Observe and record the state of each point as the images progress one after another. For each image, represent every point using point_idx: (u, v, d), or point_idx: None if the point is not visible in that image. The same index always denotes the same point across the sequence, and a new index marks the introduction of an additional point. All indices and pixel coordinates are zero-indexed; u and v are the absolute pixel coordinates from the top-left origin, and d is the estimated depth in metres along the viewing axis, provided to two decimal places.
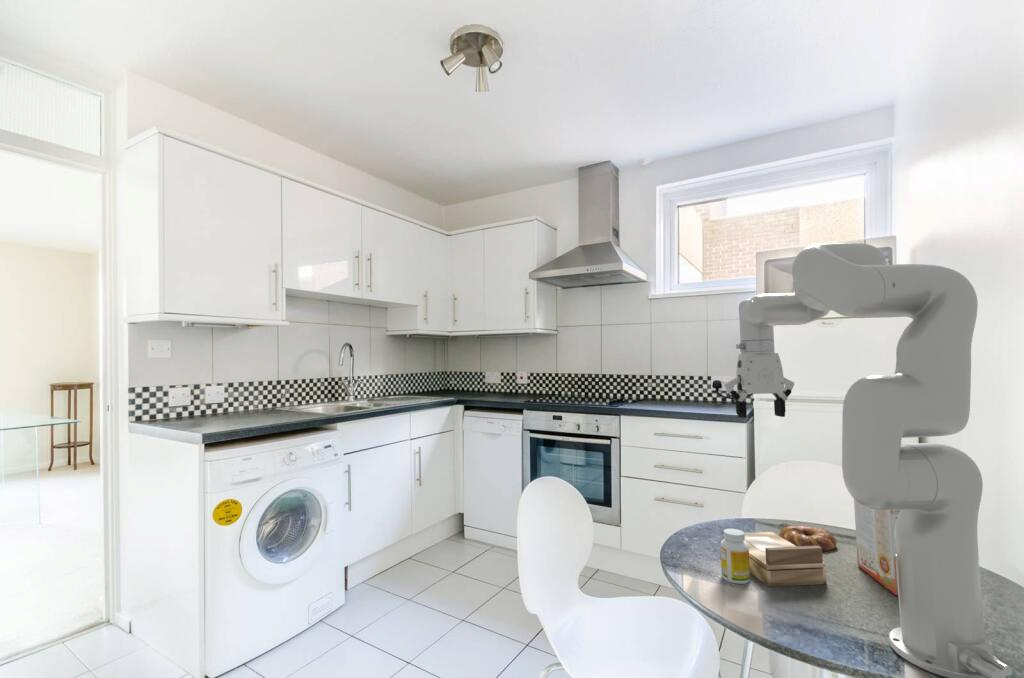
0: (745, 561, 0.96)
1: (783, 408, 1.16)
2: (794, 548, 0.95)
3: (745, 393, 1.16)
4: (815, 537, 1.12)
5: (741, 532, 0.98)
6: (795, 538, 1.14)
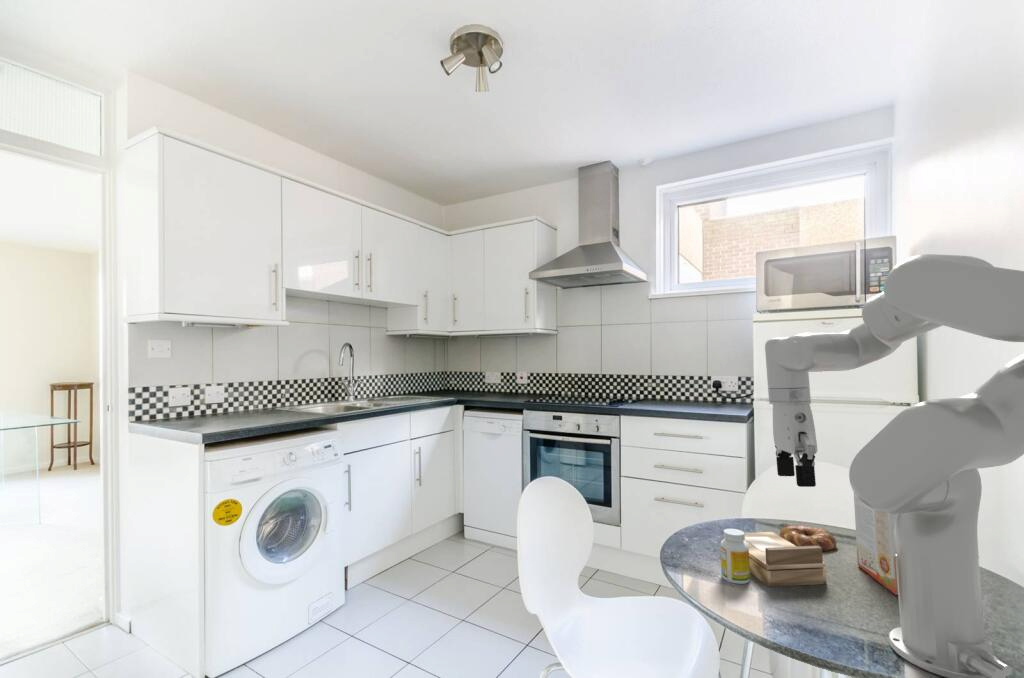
0: (745, 561, 0.96)
1: None
2: (794, 548, 0.95)
3: None
4: (815, 537, 1.12)
5: (741, 532, 0.98)
6: (795, 538, 1.14)
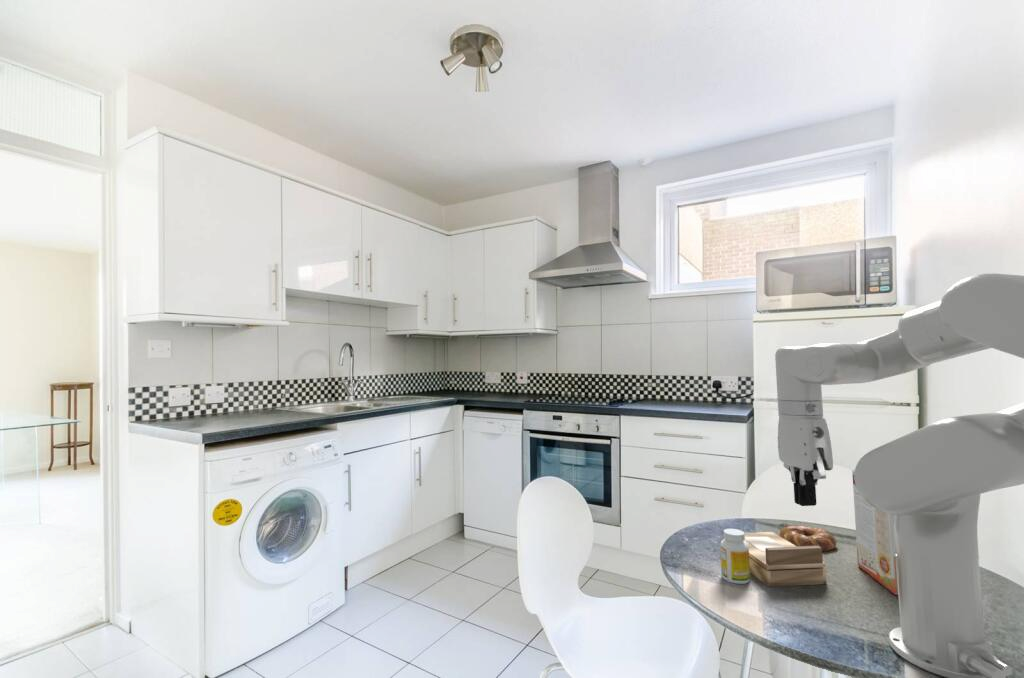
0: (745, 561, 0.96)
1: None
2: (794, 548, 0.95)
3: None
4: (815, 537, 1.12)
5: (741, 532, 0.98)
6: (795, 538, 1.14)
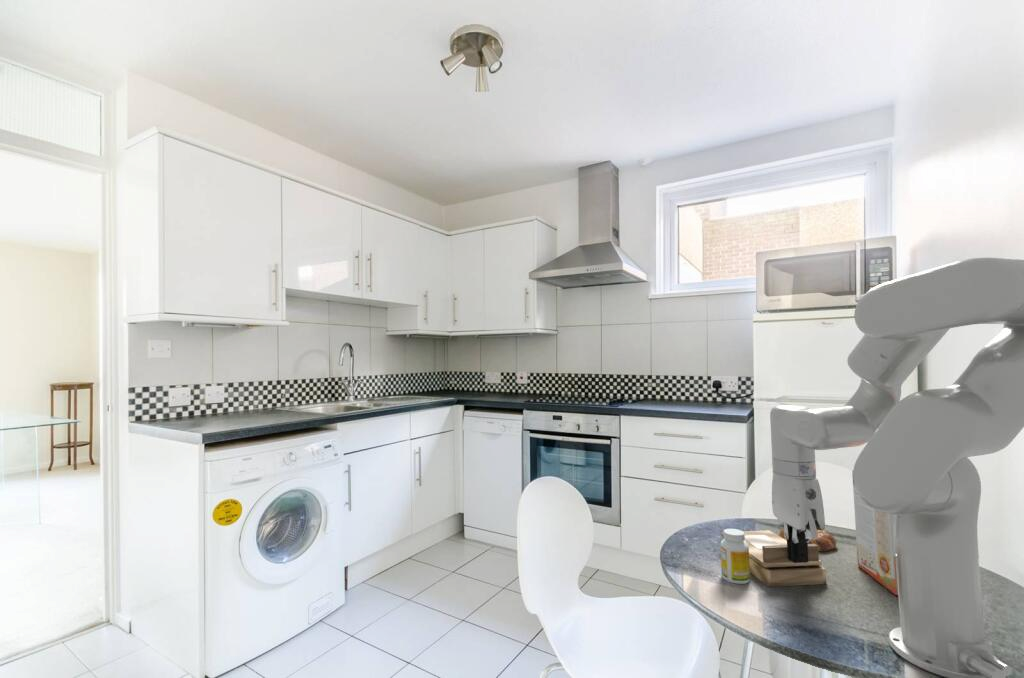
0: (745, 561, 0.96)
1: None
2: None
3: None
4: None
5: (741, 532, 0.98)
6: None
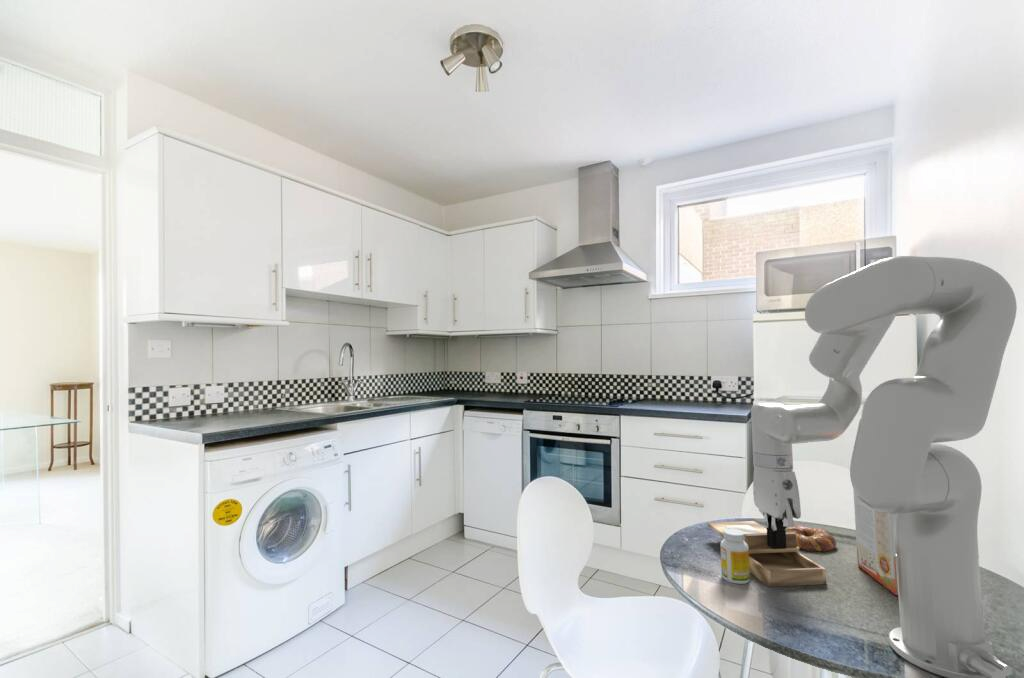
0: (745, 561, 0.96)
1: None
2: None
3: None
4: (815, 537, 1.12)
5: (741, 532, 0.98)
6: None
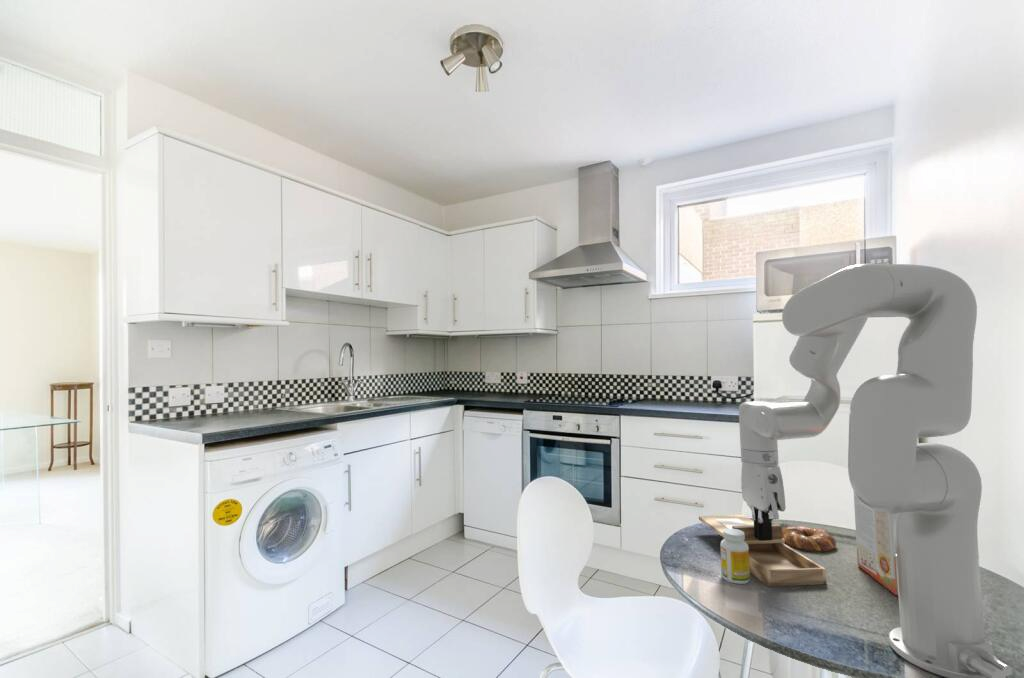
0: (745, 561, 0.96)
1: None
2: None
3: None
4: (815, 538, 1.12)
5: (741, 532, 0.98)
6: (795, 539, 1.14)
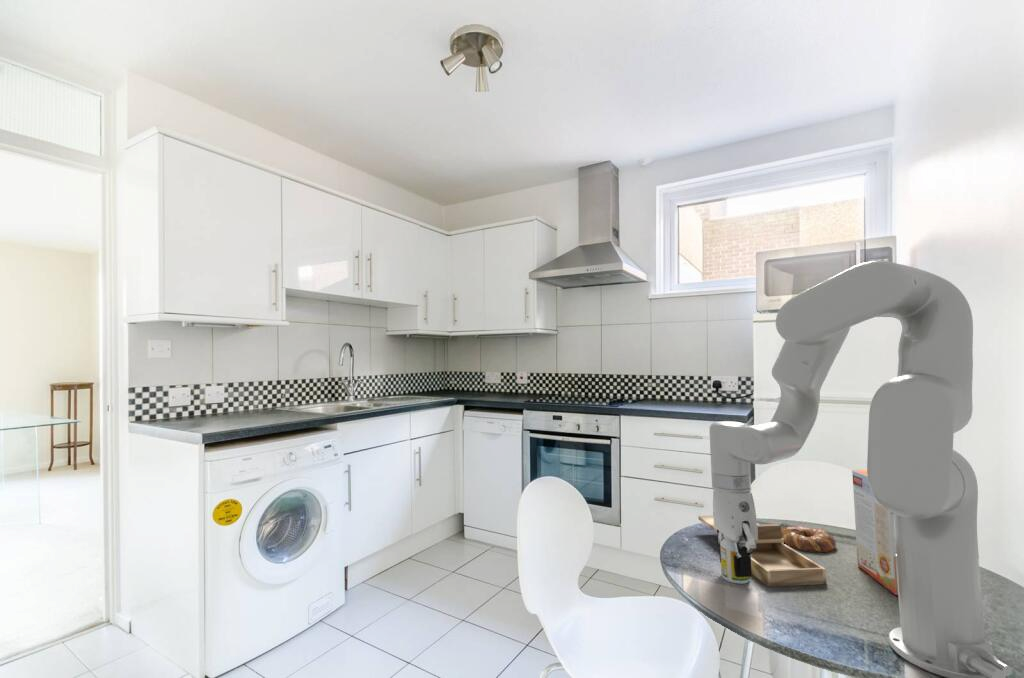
0: None
1: None
2: (757, 526, 1.09)
3: None
4: (814, 538, 1.12)
5: None
6: (794, 539, 1.14)
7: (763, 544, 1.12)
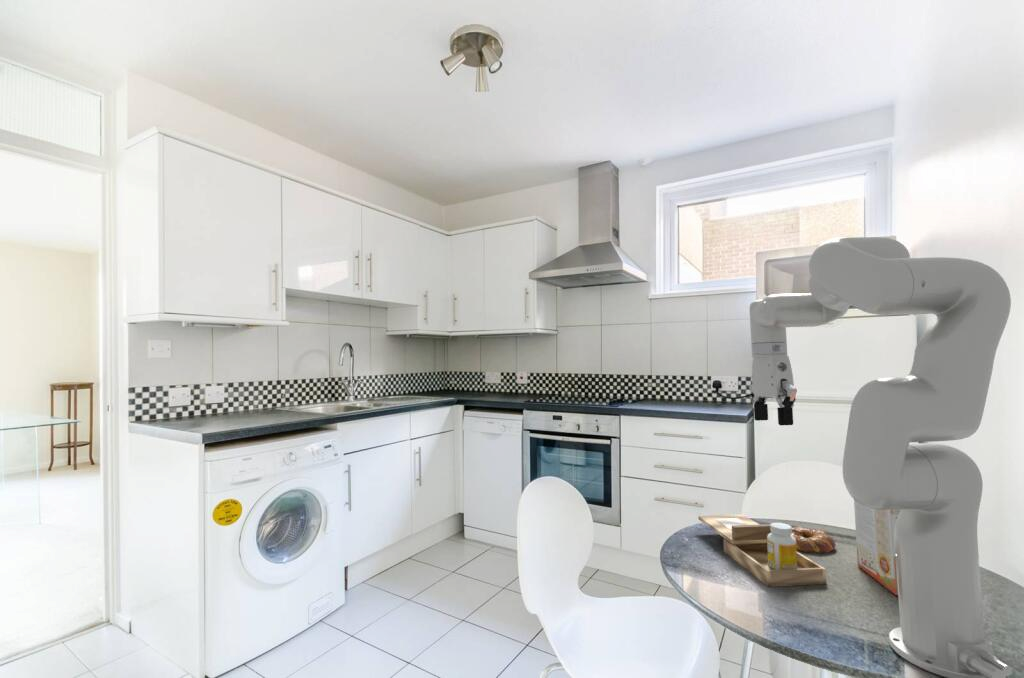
0: (793, 555, 0.97)
1: None
2: (757, 526, 1.09)
3: None
4: (814, 539, 1.11)
5: (788, 526, 0.99)
6: None
7: (763, 544, 1.12)
